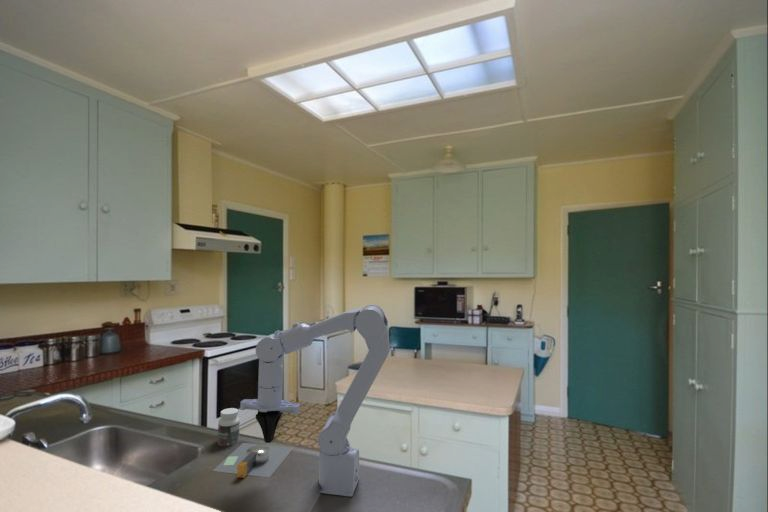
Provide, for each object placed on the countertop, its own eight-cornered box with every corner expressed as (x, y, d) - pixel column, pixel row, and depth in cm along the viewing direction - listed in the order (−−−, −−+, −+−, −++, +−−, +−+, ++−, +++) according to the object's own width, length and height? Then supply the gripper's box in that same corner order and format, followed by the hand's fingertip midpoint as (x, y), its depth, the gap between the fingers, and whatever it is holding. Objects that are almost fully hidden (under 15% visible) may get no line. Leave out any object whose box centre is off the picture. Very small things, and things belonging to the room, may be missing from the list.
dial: (272, 455, 104) (272, 444, 104) (251, 479, 93) (251, 466, 93) (253, 453, 105) (253, 441, 105) (229, 476, 94) (229, 464, 94)
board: (293, 452, 109) (293, 447, 109) (269, 482, 94) (269, 477, 94) (243, 447, 111) (243, 442, 111) (212, 475, 97) (212, 470, 97)
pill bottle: (213, 447, 111) (214, 412, 111) (229, 439, 116) (230, 405, 116) (227, 452, 108) (228, 416, 108) (243, 443, 113) (244, 409, 113)
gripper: (234, 387, 92) (232, 445, 92) (292, 392, 90) (291, 451, 90) (248, 378, 99) (247, 432, 99) (303, 383, 97) (302, 438, 97)
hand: (269, 440), depth 95 cm, fingers closed
